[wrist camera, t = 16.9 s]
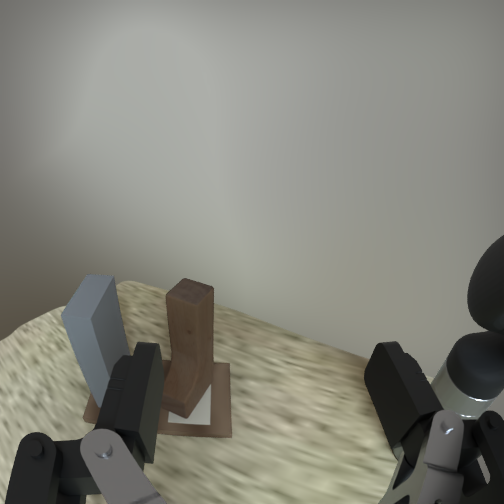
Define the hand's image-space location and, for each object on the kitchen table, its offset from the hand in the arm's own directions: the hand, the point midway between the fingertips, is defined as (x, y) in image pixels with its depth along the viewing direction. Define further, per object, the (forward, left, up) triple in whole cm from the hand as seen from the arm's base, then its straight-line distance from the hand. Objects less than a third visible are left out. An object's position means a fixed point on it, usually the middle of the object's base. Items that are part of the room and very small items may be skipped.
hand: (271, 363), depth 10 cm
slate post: (+18, -21, -31) cm, 41 cm away
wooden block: (+6, -21, -31) cm, 38 cm away
